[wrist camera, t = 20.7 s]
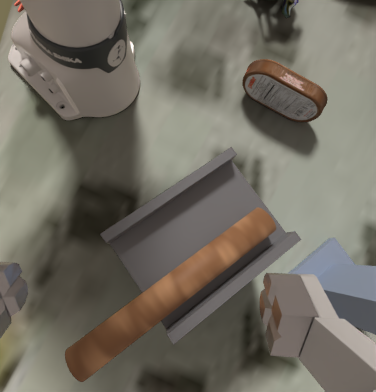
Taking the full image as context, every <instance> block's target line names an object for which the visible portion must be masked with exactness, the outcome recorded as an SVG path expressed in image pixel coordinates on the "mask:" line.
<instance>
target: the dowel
mask: <svg viewBox="0 0 376 392" xmlns="http://www.w3.org/2000/svg"><path fill="white" fill-rule="evenodd" d="M275 230H276V225H275V222H274V220H273V219H272V218H271V216H270V215H269V214H268V213H267V212H266V211H265V210H263V209H262V208H259V207H257V208H255V209H254V210H253V211H251V212H250V213H249V214H247V215H246V216H245V217H243V218H242V219H241V220H239V221H238V222H237V223H235V224H234V225H233V226H231V227H230V228H229V229H227V230H226V231H225V232H223V233H222V234H221V235H219V236H218V237H217V238H215V239H214V240H213V241H211V242H210V243H209V244H207V245H206V246H205V247H203V248H202V249H201V250H199V251H198V252H196V253H195V254H194V255H192V256H191V257H190V258H188V259H187V260H186V261H184V262H183V263H182V264H180V265H179V266H178V267H176V268H175V269H174V270H172V271H171V272H170V273H168V274H167V275H166V276H164V277H163V278H162V279H160V280H159V281H158V282H156V283H155V284H154V285H152V286H151V287H150V288H148V289H147V290H146V291H144V292H143V293H142V294H140V295H139V296H138V297H136V298H135V299H133V300H132V301H131V302H129V303H128V304H127V305H125V306H124V307H123V308H121V309H120V310H119V311H117V312H116V313H115V314H113V315H112V316H111V317H109V318H108V319H107V320H105V321H104V322H103V323H101V324H100V325H99V326H97V327H96V328H95V329H93V330H92V331H91V332H89V333H88V334H87V335H85V336H84V337H83V338H81V339H80V340H79V341H77V342H76V343H75V344H73V345H72V346H71V347H69V348H68V349H67V350H66V352H65V359H66V363H67V366H68V368H69V370H70V372H71V373H72V375H73V376H74V377H75V378H76V379H77V380H78V381H80V382H84V381H85V380H86V379H88V378H89V377H90V376H91V375H93V374H94V373H95V372H96V371H98V370H99V369H100V368H102V367H103V366H104V365H105V364H107V363H108V362H109V361H110V360H112V359H113V358H114V357H116V356H117V355H118V354H119V353H121V352H122V351H123V350H124V349H126V348H127V347H128V346H129V345H131V344H132V343H133V342H135V341H136V340H137V339H138V338H140V337H141V336H142V335H143V334H145V333H146V332H147V331H149V330H150V329H151V328H152V327H154V326H155V325H156V324H157V323H159V322H160V321H161V320H162V319H164V318H165V317H166V316H168V315H169V314H170V313H171V312H173V311H174V310H175V309H176V308H178V307H179V306H180V305H182V304H183V303H184V302H185V301H187V300H188V299H189V298H190V297H192V296H193V295H194V294H196V293H197V292H198V291H199V290H201V289H202V288H203V287H204V286H206V285H207V284H208V283H209V282H211V281H212V280H213V279H215V278H216V277H217V276H218V275H220V274H221V273H222V272H223V271H225V270H226V269H227V268H229V267H230V266H231V265H232V264H234V263H235V262H236V261H237V260H239V259H240V258H241V257H243V256H244V255H245V254H246V253H248V252H249V251H250V250H251V249H253V248H254V247H255V246H256V245H258V244H259V243H260V242H262V241H263V240H264V239H265V238H267V237H268V236H269V235H270V234H272V233H273V232H274V231H275Z"/></svg>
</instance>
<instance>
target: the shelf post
mask: <svg viewBox="0 0 376 392" xmlns="http://www.w3.org/2000/svg"><path fill="white" fill-rule="evenodd" d="M288 274H314V275H315V276H316V277H317V279H318V280H319V282H320V284H321V286H322V288H323V290H324V292H325V293H326V295H327V297H328V299H329V301H330V303H331V304H332V306H333V308H334V310H335V312H336V314H337V316H338V317H339V319H345V320H346V321H348V322H349V323H350V324H352V325H353V326H354V327H357V328H359V329H362V330H365V331H367V332H370V333H373V334H375V335H376V266H364V265H355V264H354V262H353V261H352V260H351V258H350V257H349V256H348V254H347V253H346V252H345V251H344V249H343V248H342V247H341V245H340V244H339V243H338V241H337V240H336V239H335V238H329V239H328V240H327V241H326V242H324V243H323V244H322V245H321V246H320V247H318V248H317V249H316V250H315V251H314V252H313V253H311V254H310V255H309V256H308V257H307V258H305V259H304V260H303V261H302V262H301V263H300V264H298V265H297V266H296V267H295V268H294V269H293V270H291V271H290V272H289V273H288Z"/></svg>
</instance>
